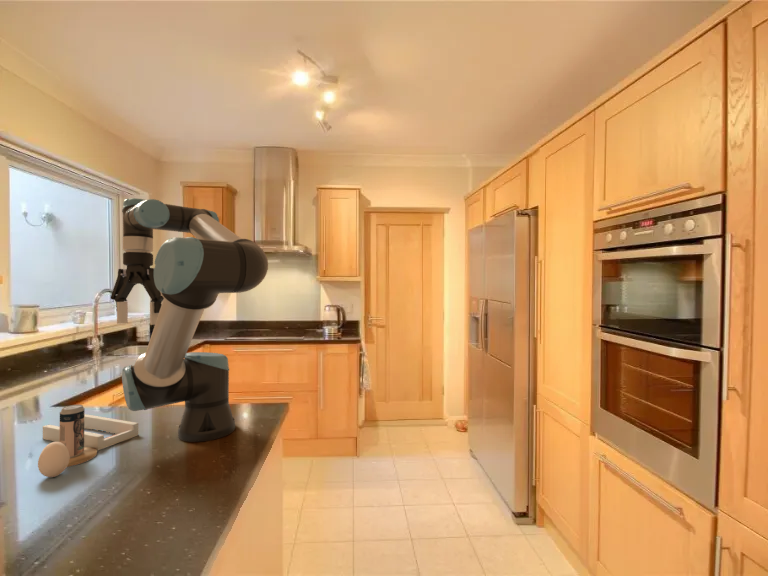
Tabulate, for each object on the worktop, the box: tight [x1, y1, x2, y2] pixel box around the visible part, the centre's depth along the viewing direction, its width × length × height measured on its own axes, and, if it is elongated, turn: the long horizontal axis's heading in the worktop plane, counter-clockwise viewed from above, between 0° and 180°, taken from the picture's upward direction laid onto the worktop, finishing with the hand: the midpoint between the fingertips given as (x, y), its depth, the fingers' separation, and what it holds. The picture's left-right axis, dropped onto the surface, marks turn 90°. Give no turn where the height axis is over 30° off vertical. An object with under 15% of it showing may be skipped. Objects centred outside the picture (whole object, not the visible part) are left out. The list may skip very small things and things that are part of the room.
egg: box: [37, 441, 70, 478], centre depth 85 cm, size 5×5×8 cm
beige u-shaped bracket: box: [42, 413, 139, 451], centre depth 107 cm, size 23×11×4 cm, turn 70°
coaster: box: [66, 447, 98, 468], centre depth 93 cm, size 10×10×1 cm
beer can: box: [59, 404, 86, 458], centre depth 93 cm, size 5×5×12 cm
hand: (138, 324), depth 112 cm, fingers open, 13 cm apart
